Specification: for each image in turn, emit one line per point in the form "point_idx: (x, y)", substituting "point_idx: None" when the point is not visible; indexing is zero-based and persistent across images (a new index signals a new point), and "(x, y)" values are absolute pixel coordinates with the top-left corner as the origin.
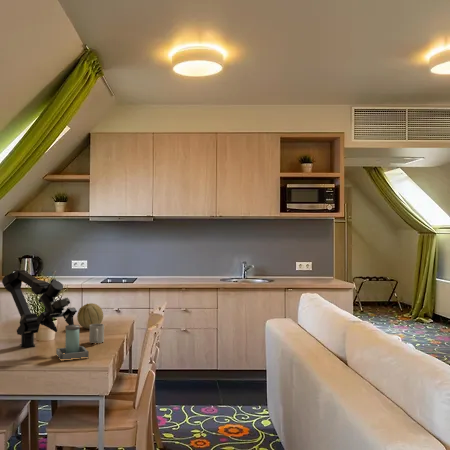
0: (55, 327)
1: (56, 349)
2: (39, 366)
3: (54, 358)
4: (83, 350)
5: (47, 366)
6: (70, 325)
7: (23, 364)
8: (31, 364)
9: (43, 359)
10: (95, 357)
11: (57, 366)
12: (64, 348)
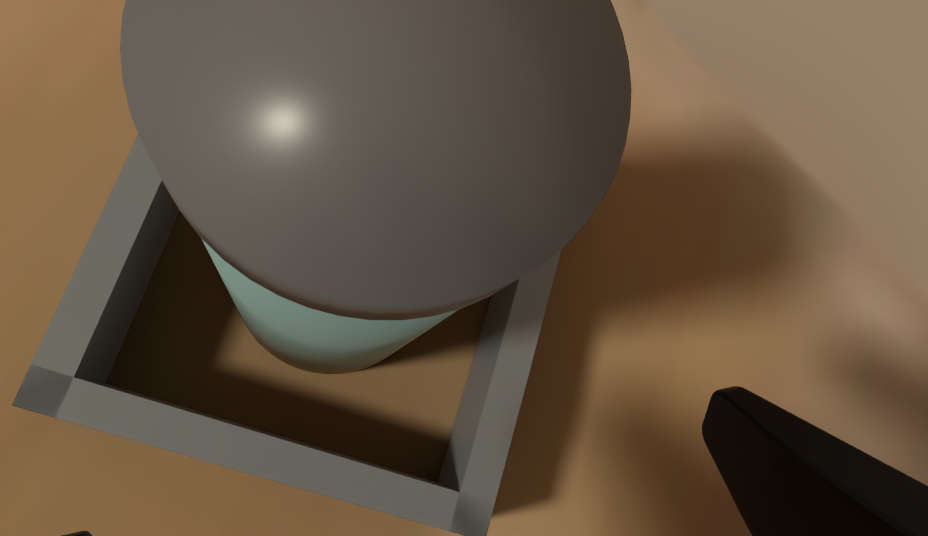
0: (817, 449)
1: (484, 528)
2: (795, 169)
3: (549, 370)
4: (160, 202)
5: (734, 109)
6: (411, 185)
7: (901, 366)
8: (837, 304)
9: (671, 421)
10: (109, 19)
11: (657, 32)
12: (371, 467)
